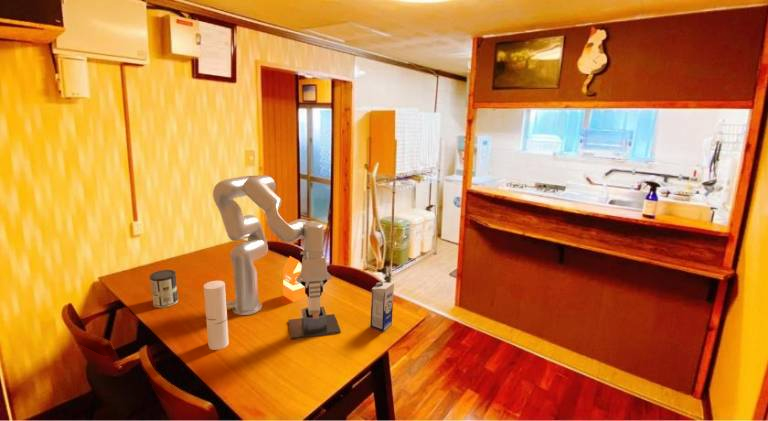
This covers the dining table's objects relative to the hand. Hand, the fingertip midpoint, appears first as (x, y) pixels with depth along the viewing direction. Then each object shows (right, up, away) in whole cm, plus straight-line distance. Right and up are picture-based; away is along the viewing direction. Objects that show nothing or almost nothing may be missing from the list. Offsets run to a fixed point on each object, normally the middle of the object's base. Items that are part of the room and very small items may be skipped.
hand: (313, 294), depth 156 cm
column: (0, -8, +2) cm, 8 cm away
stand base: (-1, -15, +4) cm, 15 cm away
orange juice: (-15, -8, +30) cm, 34 cm away
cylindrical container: (-35, -17, -11) cm, 40 cm away
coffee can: (-72, -8, +19) cm, 75 cm away
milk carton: (+28, -15, +7) cm, 33 cm away
